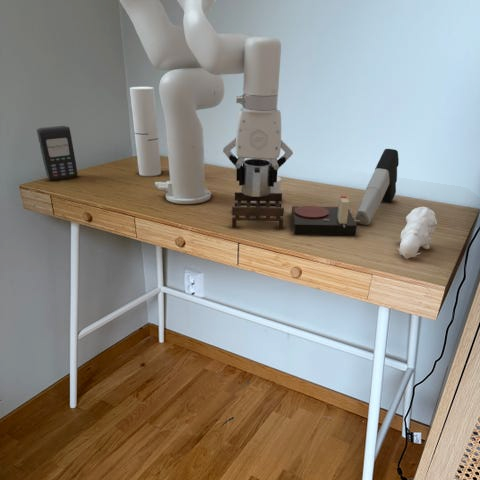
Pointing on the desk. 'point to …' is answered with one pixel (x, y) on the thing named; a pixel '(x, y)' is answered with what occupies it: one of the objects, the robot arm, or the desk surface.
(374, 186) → the handheld device
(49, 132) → the card reader
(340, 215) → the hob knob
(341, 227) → the hob
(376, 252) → the desk surface
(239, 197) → the drying rack
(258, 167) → the steel pot
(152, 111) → the cylindrical container
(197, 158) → the robot arm
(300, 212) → the hot plate
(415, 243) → the white animal figurine
